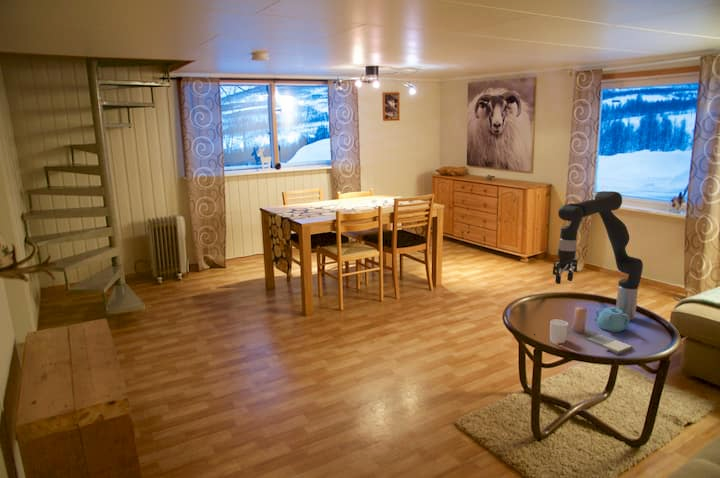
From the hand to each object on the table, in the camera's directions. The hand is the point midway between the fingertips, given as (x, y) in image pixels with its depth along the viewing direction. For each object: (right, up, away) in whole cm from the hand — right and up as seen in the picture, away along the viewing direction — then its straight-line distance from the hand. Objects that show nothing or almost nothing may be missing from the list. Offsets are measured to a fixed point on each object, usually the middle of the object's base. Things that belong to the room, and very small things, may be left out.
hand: (563, 282), depth 235 cm
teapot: (+31, -26, +18) cm, 44 cm away
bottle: (+12, -25, +12) cm, 31 cm away
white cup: (-2, -29, +3) cm, 29 cm away
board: (+18, -29, +4) cm, 34 cm away
